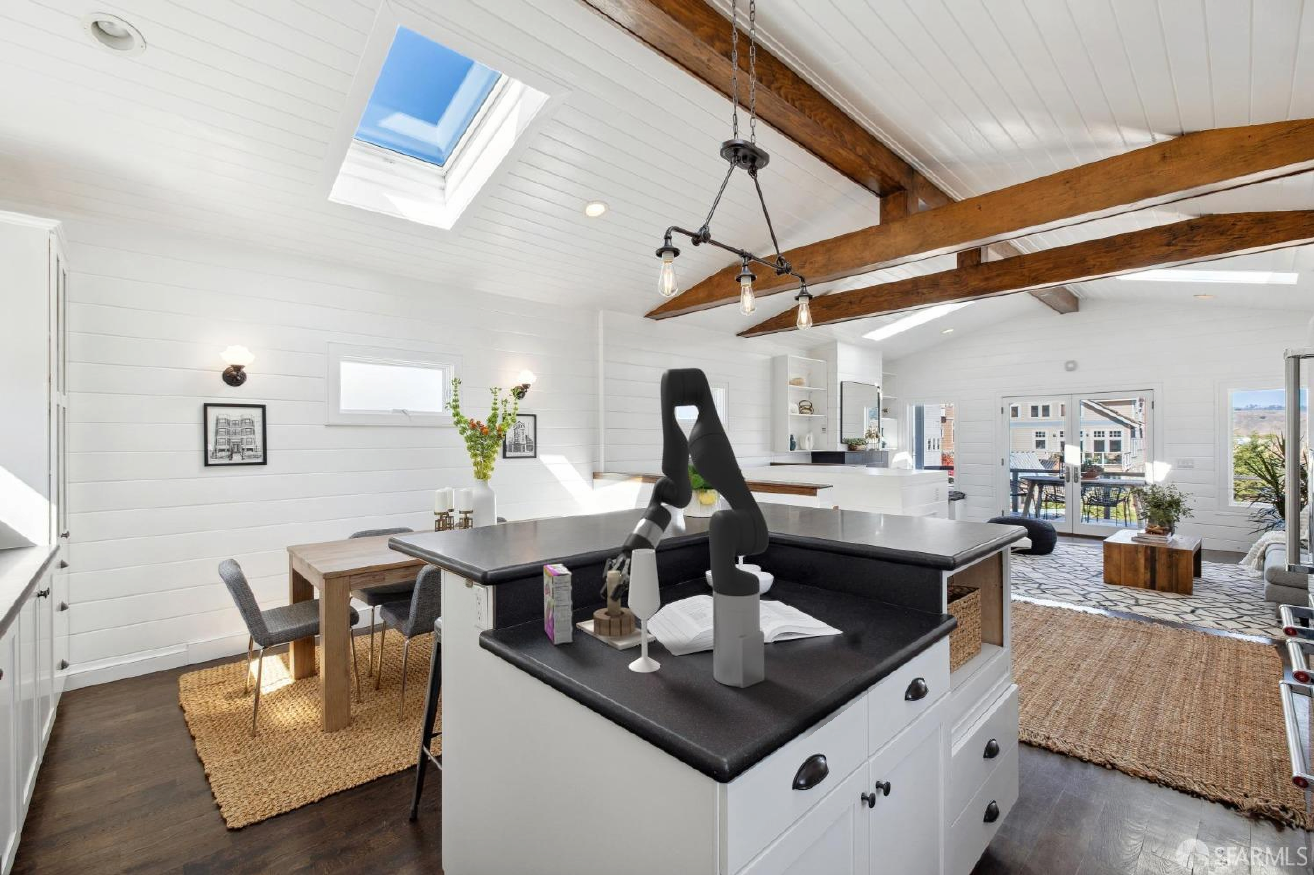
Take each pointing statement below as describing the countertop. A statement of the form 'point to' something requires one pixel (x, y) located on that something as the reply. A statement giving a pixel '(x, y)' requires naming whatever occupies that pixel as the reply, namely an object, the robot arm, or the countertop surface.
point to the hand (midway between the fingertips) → (607, 598)
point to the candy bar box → (558, 603)
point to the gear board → (615, 629)
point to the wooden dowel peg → (612, 582)
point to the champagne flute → (644, 600)
